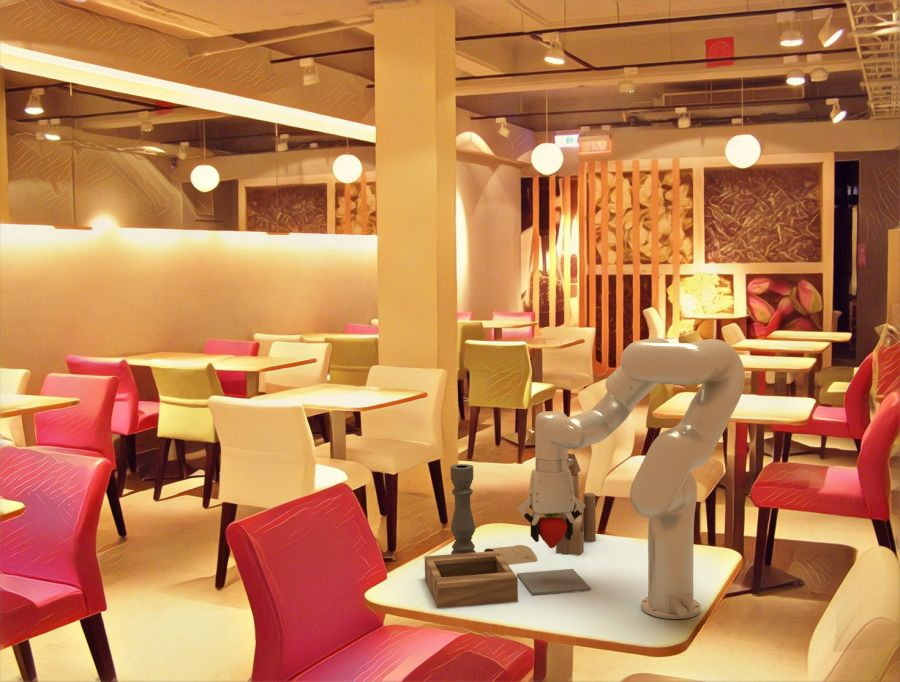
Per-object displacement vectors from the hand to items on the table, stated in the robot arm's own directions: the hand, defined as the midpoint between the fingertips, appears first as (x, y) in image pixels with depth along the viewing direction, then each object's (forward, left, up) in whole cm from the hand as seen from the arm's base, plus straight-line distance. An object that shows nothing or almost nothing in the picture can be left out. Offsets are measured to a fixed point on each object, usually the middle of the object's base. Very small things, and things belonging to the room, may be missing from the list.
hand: (551, 538), depth 225 cm
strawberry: (0, 0, -2) cm, 2 cm away
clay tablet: (+22, +5, -11) cm, 25 cm away
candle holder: (+18, +18, -11) cm, 27 cm away
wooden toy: (+26, -14, -11) cm, 31 cm away
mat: (0, 0, -11) cm, 11 cm away
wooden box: (0, +20, -11) cm, 22 cm away
